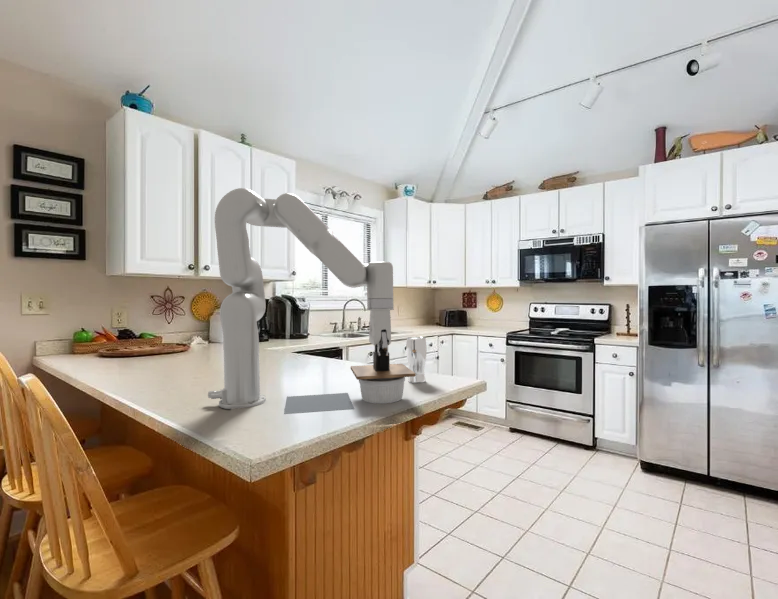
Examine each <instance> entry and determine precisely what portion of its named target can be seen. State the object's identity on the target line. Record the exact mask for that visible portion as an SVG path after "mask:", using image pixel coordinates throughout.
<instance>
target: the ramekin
mask: <svg viewBox="0 0 778 599" xmlns="http://www.w3.org/2000/svg"><path fill="white" fill-rule="evenodd" d="M405 381H406V377H395V378H377V379H359V380H358V383H359V387H360V388H359V389H360V393H361V399H362V400H363V401H364V402H366V403H370V404H392V403H396V402H399V401H401V400H402V399H403V396H404V387H405Z"/></svg>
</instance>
